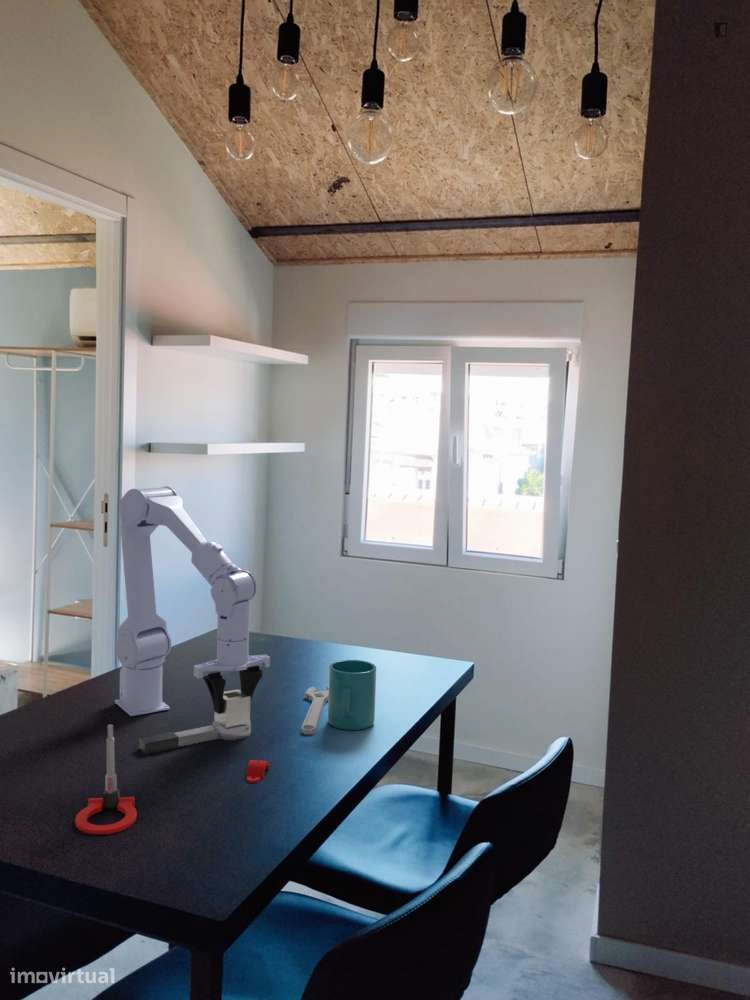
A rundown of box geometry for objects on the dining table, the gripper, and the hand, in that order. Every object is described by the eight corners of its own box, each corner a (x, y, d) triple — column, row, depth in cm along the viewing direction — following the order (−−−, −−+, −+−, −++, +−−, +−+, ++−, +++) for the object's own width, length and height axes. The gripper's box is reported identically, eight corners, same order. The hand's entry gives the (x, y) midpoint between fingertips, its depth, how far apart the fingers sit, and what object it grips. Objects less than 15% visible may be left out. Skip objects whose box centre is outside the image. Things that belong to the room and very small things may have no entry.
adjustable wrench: (314, 738, 157) (314, 729, 157) (280, 735, 158) (281, 726, 158) (338, 694, 182) (338, 686, 182) (309, 692, 183) (309, 683, 183)
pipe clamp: (255, 763, 144) (255, 751, 144) (272, 765, 144) (272, 752, 144) (243, 783, 136) (243, 770, 136) (260, 785, 136) (260, 772, 136)
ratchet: (135, 745, 150) (135, 720, 149) (240, 723, 162) (240, 700, 161) (149, 758, 144) (149, 733, 144) (257, 735, 156) (257, 712, 156)
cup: (320, 735, 157) (322, 676, 156) (332, 713, 169) (334, 658, 168) (368, 739, 156) (370, 679, 155) (377, 716, 168) (379, 661, 167)
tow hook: (132, 837, 119) (141, 804, 128) (131, 749, 117) (140, 722, 126) (69, 839, 118) (83, 806, 127) (67, 751, 116) (81, 723, 125)
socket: (214, 719, 157) (214, 693, 157) (237, 715, 160) (238, 689, 160) (226, 727, 153) (226, 700, 153) (249, 722, 156) (250, 696, 156)
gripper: (205, 648, 148) (204, 723, 149) (278, 637, 156) (277, 709, 158) (189, 638, 153) (188, 711, 155) (260, 629, 162) (259, 698, 163)
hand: (231, 709), depth 157 cm, fingers closed on socket, 5 cm apart
